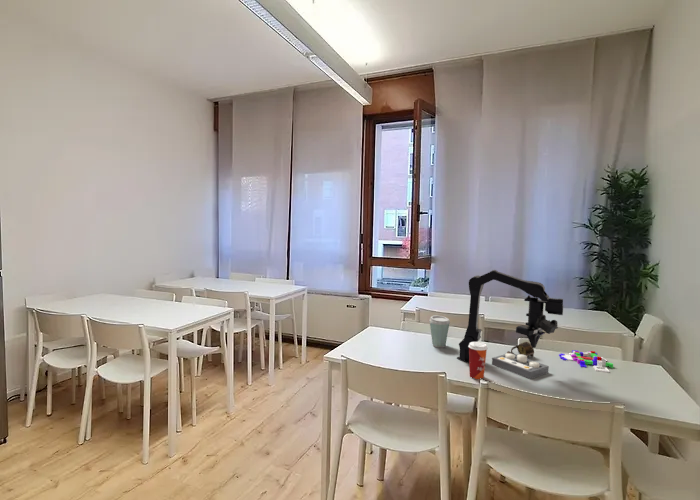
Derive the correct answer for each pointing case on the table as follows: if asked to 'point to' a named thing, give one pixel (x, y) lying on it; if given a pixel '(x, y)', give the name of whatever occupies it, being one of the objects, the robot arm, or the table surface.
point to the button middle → (522, 358)
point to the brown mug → (524, 349)
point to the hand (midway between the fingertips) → (533, 347)
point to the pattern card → (514, 363)
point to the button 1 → (510, 356)
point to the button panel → (520, 371)
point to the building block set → (588, 360)
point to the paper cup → (477, 359)
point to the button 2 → (534, 364)
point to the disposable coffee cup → (439, 330)
